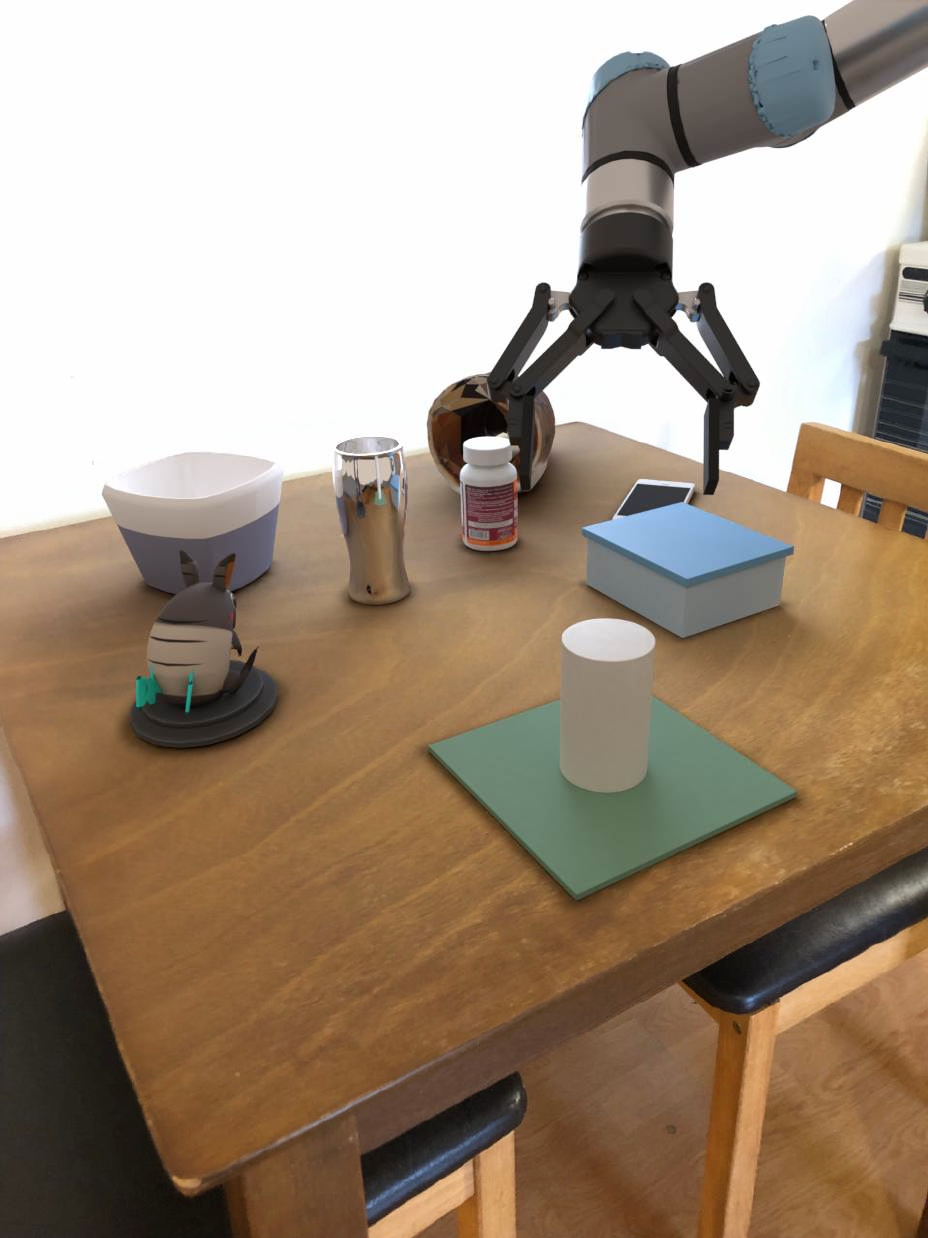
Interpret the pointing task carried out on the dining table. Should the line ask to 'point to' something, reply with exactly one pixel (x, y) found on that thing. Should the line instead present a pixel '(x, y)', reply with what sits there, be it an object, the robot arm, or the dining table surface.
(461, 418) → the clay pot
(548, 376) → the robot arm
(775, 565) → the storage box
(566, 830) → the mat
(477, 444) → the pill bottle
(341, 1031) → the dining table surface
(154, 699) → the figurine
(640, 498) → the smartphone
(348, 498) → the beer glass
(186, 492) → the bowl
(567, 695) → the white canister
